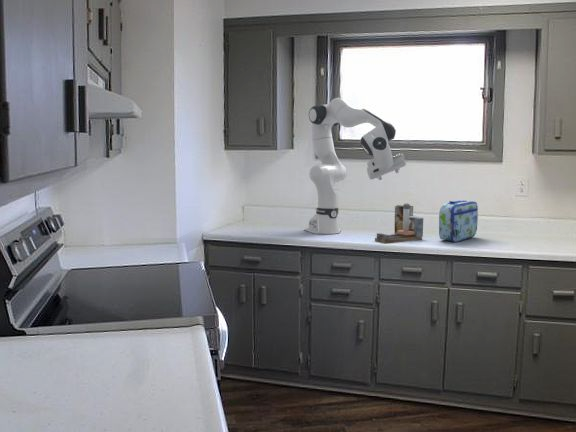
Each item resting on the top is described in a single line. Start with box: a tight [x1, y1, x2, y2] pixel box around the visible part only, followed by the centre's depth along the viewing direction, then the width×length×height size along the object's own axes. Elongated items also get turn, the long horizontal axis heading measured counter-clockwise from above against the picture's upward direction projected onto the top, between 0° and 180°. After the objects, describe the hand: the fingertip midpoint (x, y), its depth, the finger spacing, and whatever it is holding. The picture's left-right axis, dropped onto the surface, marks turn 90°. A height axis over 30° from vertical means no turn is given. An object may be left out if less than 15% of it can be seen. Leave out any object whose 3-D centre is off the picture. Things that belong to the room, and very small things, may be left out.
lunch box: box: [438, 200, 479, 243], centre depth 333 cm, size 26×11×21 cm, turn 134°
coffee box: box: [393, 204, 414, 235], centre depth 348 cm, size 9×6×16 cm
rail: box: [374, 215, 424, 244], centre depth 331 cm, size 10×25×12 cm, turn 122°
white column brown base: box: [397, 202, 415, 235], centre depth 333 cm, size 7×6×16 cm
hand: (388, 175), depth 330 cm, fingers open, 8 cm apart
